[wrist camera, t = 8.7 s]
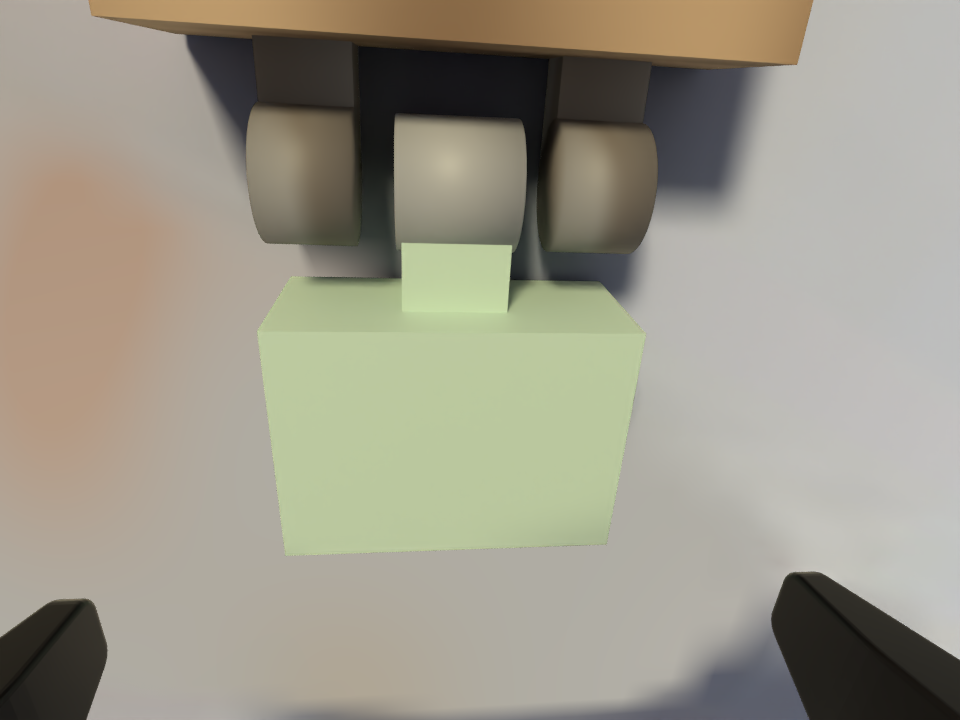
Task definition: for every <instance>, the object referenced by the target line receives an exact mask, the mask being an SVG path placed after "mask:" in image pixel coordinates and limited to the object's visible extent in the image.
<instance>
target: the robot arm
mask: <svg viewBox="0 0 960 720" xmlns="http://www.w3.org/2000/svg"><path fill="white" fill-rule="evenodd" d="M771 622H772V629H773V632H774V635H775V638H776V640H777V642H778V645H779V647H780V650H781V652H782V655H783V657H784V659H785V662H786V664H787V667H788V669H789V672H790V674H791V676H792V679H793V681H794V684H795V686H796V688H797V691H798V693H799V696H800V698H801V701H802V703H803V705H804V708H805V710H806V713H807V715H808V717H809V720H960V660H959V659H957V658H956V657H954V656H953V655H951V654H949V653H948V652H946V651H945V650H943V649H942V648H940V647H938V646H937V645H935V644H934V643H932V642H930V641H929V640H927V639H926V638H924V637H922V636H921V635H919V634H918V633H916V632H915V631H913V630H911V629H910V628H908V627H907V626H905V625H903V624H902V623H900V622H899V621H897V620H896V619H894V618H892V617H891V616H889V615H888V614H886V613H884V612H883V611H881V610H880V609H878V608H876V607H875V606H873V605H872V604H870V603H869V602H867V601H865V600H864V599H862V598H861V597H859V596H857V595H856V594H854V593H853V592H851V591H849V590H848V589H846V588H845V587H843V586H842V585H840V584H838V583H837V582H835V581H834V580H832V579H830V578H829V577H827V576H826V575H824V574H822V573H819V572H793V573H790V574H789V575H787V576H786V577H785V579H784V582H783V584H782V587H781V590H780V592H779V595H778V598H777V601H776V603H775V606H774V609H773V612H772V618H771ZM106 659H107V643H106V639H105V636H104V633H103V630H102V626H101V623H100V620H99V617H98V613H97V610H96V607H95V605H94V603H93V602H92V601H90V600H89V599H60V600H54V601H52V602H50V603H48V604H46V605H45V606H43V607H42V608H40V609H39V610H37V611H36V612H35V613H33V614H32V615H30V616H29V617H28V618H26V619H25V620H24V621H22V622H21V623H19V624H18V625H17V626H15V627H14V628H12V629H11V630H10V631H8V632H7V633H6V634H4V635H3V636H1V637H0V720H86V719H87V716H88V713H89V710H90V708H91V705H92V702H93V699H94V696H95V693H96V690H97V688H98V685H99V682H100V679H101V676H102V673H103V670H104V667H105V664H106Z"/></svg>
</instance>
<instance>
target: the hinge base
mask: <svg viewBox="0 0 960 720" xmlns="http://www.w3.org/2000/svg"><path fill="white" fill-rule="evenodd" d="M812 3H813V0H89V5H90V10H91V15H92V16H96V17H100V18H105V19H110V20H114V21H119V22H124V23H128V24H133V25H137V26H142V27H147V28H151V29H156V30H161V31H165V32H170V33H175V34H187V35H202V36H217V37H232V38H246V39H252V43H253V54H254V64H255V75H256V85H257V95H258V102H256V103H255V104H254V106H253V107H252V110H251V113H250V116H249V121H248V127H247V138H246V170H247V183H248V191H249V198H250V204H251V209H252V214H253V218H254V222H255V225H256V228H257V230H258V233H259V235H260V237H261V238H262V240H263V241H264V242H265V243H270V244H305V245H339V246H358V244H359V239H360V231H361V217H362V164H361V129H360V95H359V61H358V46H365V47H380V48H395V49H410V50H425V51H440V52H455V53H469V54H484V55H499V56H514V57H529V58H544V59H549V67H548V77H547V88H546V99H545V110H544V120H543V131H542V142H541V153H540V163H539V174H538V186H537V224H538V233H539V238H540V242H541V245H542V248H543V249H544V250H545V251H547V252H578V253H613V254H630V253H632V252H634V251H635V250H636V249H637V248H638V246H639V245H640V244H641V242H642V240H643V238H644V236H645V234H646V232H647V229H648V226H649V223H650V220H651V217H652V213H653V208H654V203H655V197H656V190H657V178H658V160H657V150H656V144H655V140H654V137H653V134H652V132H651V130H650V128H649V127H648V126H647V125H646V124H643V117H644V111H645V105H646V98H647V92H648V86H649V80H650V73H651V67H652V66H663V67H678V68H693V69H707V70H708V69H727V68H745V67H763V66H781V65H797V63H798V59H799V55H800V51H801V47H802V43H803V39H804V35H805V31H806V27H807V23H808V19H809V15H810V11H811V7H812Z"/></svg>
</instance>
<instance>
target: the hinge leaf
mask: <svg viewBox="0 0 960 720" xmlns="http://www.w3.org/2000/svg"><path fill="white" fill-rule="evenodd" d="M526 178H527V155H526V140H525V132H524V127H523V123H522V121H521V120H520V119H515V118H493V117H472V116H451V115H430V114H409V113H395V127H394V208H395V238H396V250H401V253H402V278H353V277H290V279H289V280H288V282H287V284H286V285H285V287H284V289H283V290H282V292H281V293H280V295H279V297H278V298H277V300H276V302H275V303H274V305H273V306H272V308H271V310H270V311H269V313H268V314H267V316H266V318H265V319H264V321H263V323H262V324H261V326H260V328H259V329H258V331H257V336H258V344H259V351H260V360H261V367H262V375H263V383H264V391H265V399H266V407H267V415H268V422H269V431H270V438H271V446H272V454H273V462H274V470H275V478H276V486H277V493H278V501H279V510H280V517H281V525H282V533H283V541H284V549H285V556H291V555H292V556H293V555H321V554H348V553H377V552H407V551H435V550H464V549H490V548H491V549H492V548H518V547H519V548H521V547H549V546H578V545H606V544H607V539H608V534H609V529H610V523H611V518H612V512H613V507H614V502H615V497H616V491H617V486H618V480H619V475H620V470H621V465H622V459H623V454H624V449H625V443H626V438H627V433H628V427H629V422H630V417H631V411H632V406H633V401H634V395H635V390H636V385H637V379H638V374H639V369H640V363H641V358H642V353H643V347H644V342H645V337H646V333H645V332H644V331H643V330H642V329H641V328H640V327H639V325H638V324H637V323H636V322H635V321H634V320H633V319H632V318H631V316H630V315H629V314H628V313H627V312H626V311H625V310H624V309H623V307H622V306H621V305H620V304H619V303H618V302H617V301H616V300H615V298H614V297H613V296H612V295H611V294H610V293H609V292H608V291H607V290H606V288H605V287H604V286H603V285H602V284H601V283H600V282H599V281H538V280H510V268H511V254H512V253H513V252H514V251H515V250H516V248H517V246H518V243H519V239H520V235H521V230H522V224H523V217H524V209H525V197H526Z"/></svg>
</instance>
